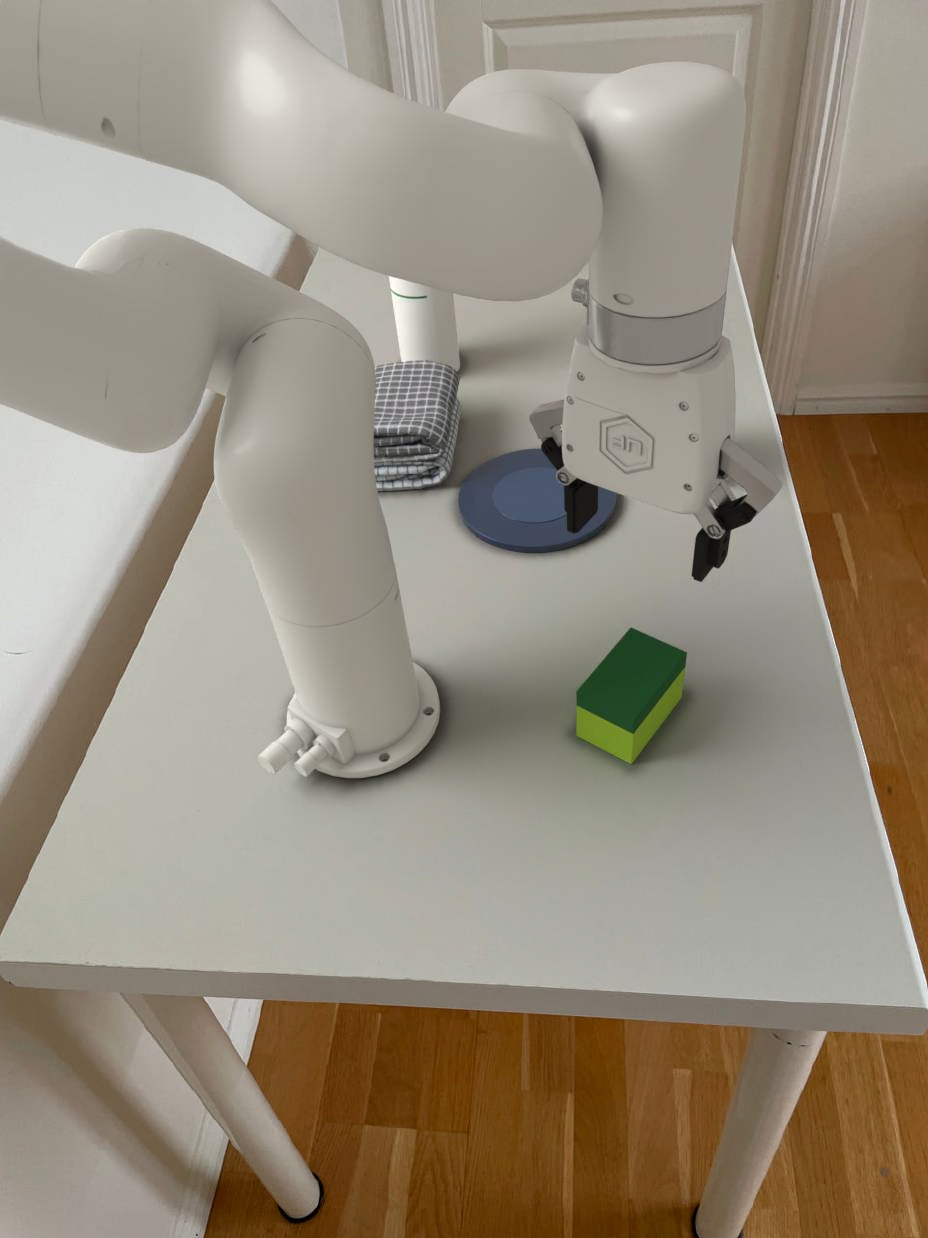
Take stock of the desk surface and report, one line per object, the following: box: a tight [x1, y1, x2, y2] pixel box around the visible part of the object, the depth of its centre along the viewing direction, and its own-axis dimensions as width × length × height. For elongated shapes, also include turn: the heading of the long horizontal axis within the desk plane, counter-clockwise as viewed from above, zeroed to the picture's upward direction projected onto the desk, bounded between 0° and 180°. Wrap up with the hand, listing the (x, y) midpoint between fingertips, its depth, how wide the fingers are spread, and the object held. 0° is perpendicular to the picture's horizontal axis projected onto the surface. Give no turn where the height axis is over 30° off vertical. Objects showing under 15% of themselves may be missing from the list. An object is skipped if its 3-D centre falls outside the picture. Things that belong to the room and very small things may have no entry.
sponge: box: [575, 627, 688, 765], centre depth 73 cm, size 8×5×6 cm, turn 142°
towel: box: [374, 360, 463, 492], centre depth 101 cm, size 15×18×8 cm
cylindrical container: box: [388, 276, 461, 373], centre depth 107 cm, size 7×7×25 cm
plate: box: [457, 447, 617, 554], centre depth 95 cm, size 16×16×1 cm
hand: (642, 544), depth 65 cm, fingers open, 9 cm apart
